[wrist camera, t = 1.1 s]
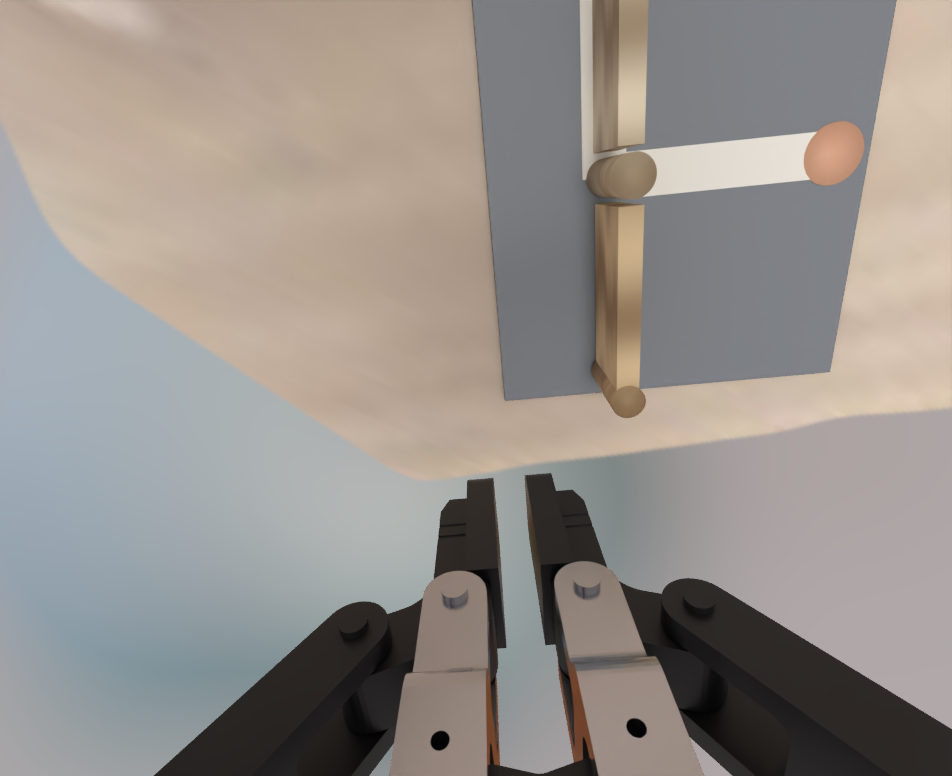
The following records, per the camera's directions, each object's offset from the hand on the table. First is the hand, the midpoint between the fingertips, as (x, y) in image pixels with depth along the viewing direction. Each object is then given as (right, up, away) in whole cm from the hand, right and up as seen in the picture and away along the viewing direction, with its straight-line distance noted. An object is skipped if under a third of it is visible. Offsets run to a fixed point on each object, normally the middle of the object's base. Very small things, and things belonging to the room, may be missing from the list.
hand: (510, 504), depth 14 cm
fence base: (+6, +20, +12) cm, 24 cm away
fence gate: (+7, +9, +16) cm, 20 cm away
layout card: (+10, +15, +14) cm, 23 cm away
